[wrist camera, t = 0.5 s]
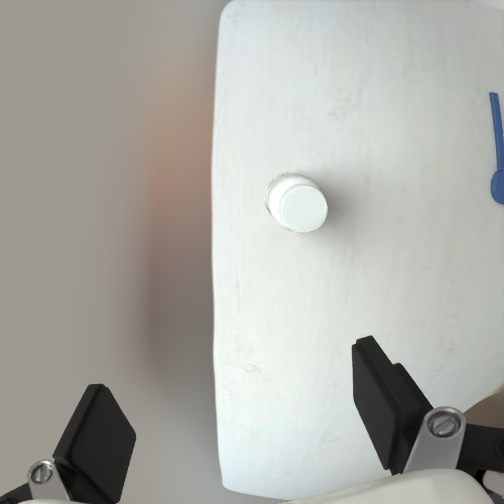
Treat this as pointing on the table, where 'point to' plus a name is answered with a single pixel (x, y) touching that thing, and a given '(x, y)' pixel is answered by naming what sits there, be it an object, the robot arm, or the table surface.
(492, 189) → the spoon
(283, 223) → the pill bottle
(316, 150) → the table surface
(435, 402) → the table surface
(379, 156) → the table surface
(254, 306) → the table surface
